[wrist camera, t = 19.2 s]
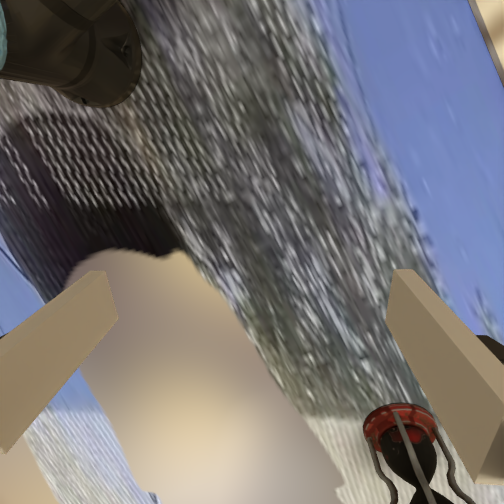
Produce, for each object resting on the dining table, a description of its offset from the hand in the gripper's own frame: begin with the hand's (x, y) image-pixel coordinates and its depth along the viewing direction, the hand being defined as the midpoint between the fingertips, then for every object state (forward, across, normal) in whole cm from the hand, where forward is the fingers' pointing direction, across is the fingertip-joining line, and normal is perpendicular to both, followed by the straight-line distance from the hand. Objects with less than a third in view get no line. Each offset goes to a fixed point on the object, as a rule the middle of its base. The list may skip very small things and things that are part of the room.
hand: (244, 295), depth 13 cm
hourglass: (+37, +29, -59) cm, 75 cm away
